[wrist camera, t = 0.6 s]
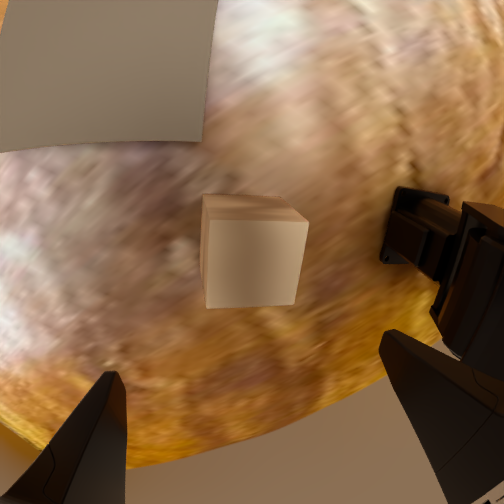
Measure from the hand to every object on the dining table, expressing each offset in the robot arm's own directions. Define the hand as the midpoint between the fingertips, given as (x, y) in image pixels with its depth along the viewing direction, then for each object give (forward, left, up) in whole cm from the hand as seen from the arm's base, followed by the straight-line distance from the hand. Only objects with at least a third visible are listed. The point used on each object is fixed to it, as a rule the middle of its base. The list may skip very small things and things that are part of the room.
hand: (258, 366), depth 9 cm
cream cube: (-2, 0, -12) cm, 12 cm away
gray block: (+7, -12, -12) cm, 19 cm away
